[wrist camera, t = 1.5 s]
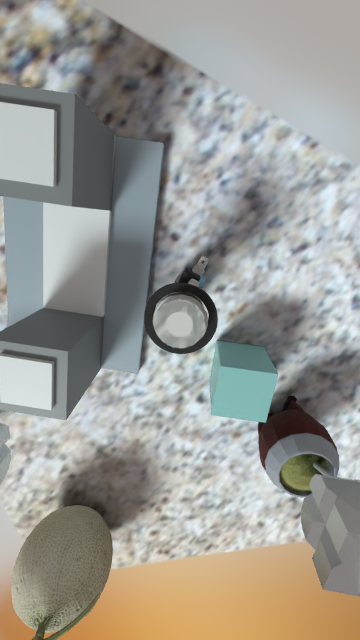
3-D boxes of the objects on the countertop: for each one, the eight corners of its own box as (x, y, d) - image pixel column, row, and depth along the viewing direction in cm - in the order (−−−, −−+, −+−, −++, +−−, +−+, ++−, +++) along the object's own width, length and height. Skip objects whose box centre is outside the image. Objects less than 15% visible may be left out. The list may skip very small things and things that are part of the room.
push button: (181, 242, 29) (173, 254, 20) (230, 270, 30) (243, 293, 20) (150, 301, 31) (128, 337, 22) (196, 326, 32) (194, 371, 22)
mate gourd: (243, 437, 36) (273, 582, 21) (265, 378, 33) (314, 499, 19) (306, 451, 36) (376, 605, 21) (331, 394, 33) (431, 526, 19)
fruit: (140, 534, 41) (109, 698, 27) (66, 551, 43) (1, 712, 29) (107, 475, 39) (54, 624, 24) (30, 496, 41) (-61, 646, 26)
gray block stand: (164, 145, 27) (143, 101, 17) (139, 369, 34) (114, 431, 24) (7, 122, 27) (-105, 66, 17) (14, 349, 34) (-62, 403, 24)
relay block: (220, 366, 26) (216, 340, 32) (211, 415, 28) (209, 382, 34) (278, 374, 26) (264, 346, 32) (265, 422, 28) (254, 388, 34)
